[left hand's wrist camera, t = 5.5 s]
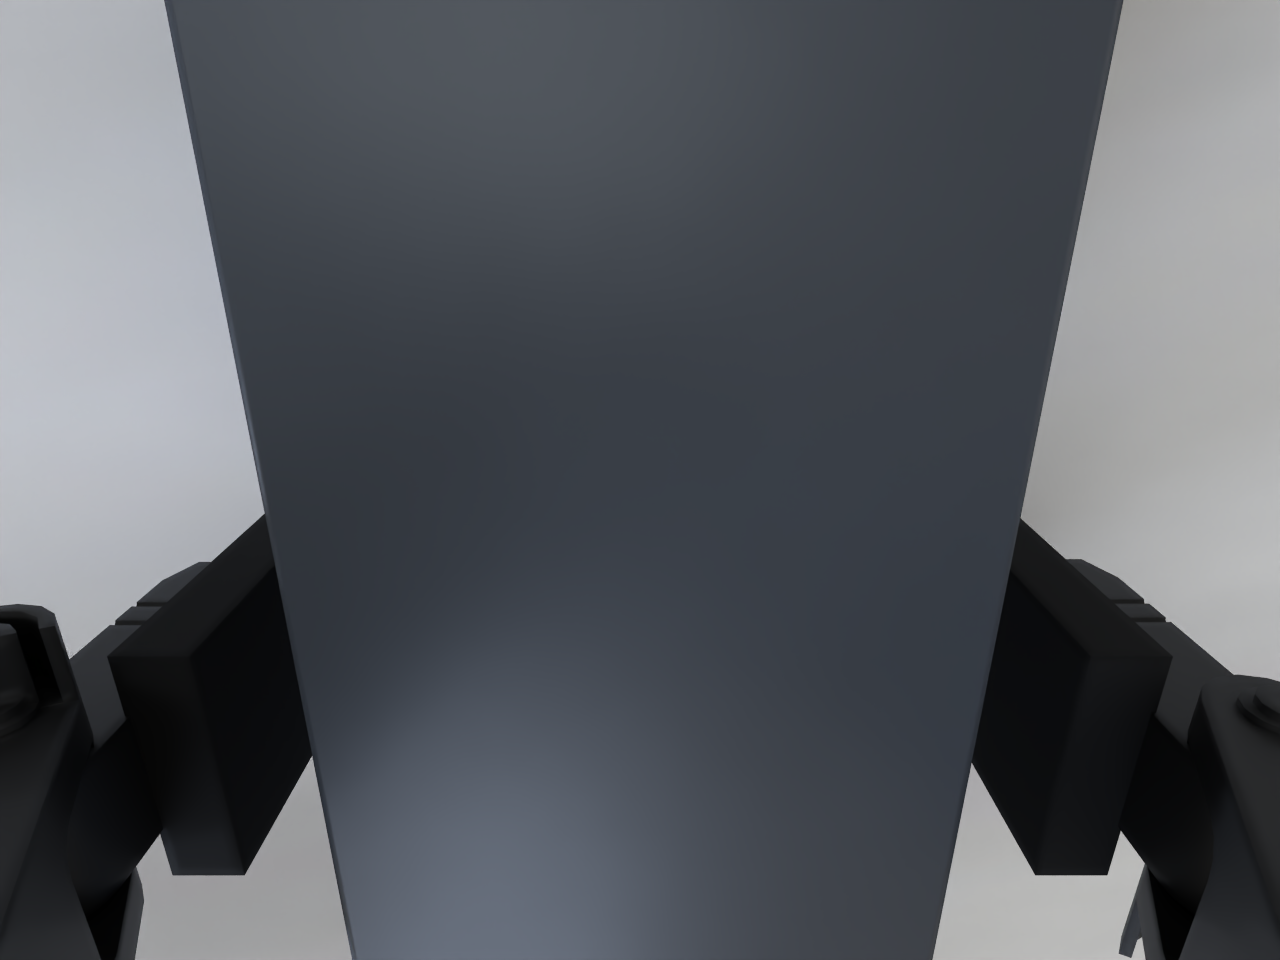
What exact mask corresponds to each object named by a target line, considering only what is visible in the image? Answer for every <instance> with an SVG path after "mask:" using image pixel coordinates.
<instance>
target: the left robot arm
mask: <svg viewBox="0 0 1280 960" xmlns="http://www.w3.org/2000/svg"><path fill="white" fill-rule="evenodd" d="M115 622H116V623H115V625H109V626H108V627H107V628H106V629H105V630H104V631H102V632H101V633H100V634H99V635H98V636H97V637H95V638H94V639H93V640H92V641H91V642H89V643H88V644H87V645H86V646H85V647H84V648H82V649H81V650H80V651H79V652H78V653H77V654H75V655H74V656H73V657H72V658H71V659H69V657H68V654H67V651H66V648H65V645H64V642H63V639H62V636H61V633H60V630H59V626H58V623H57V620H56V617H55V614H54V613H52V612H51V611H49V610H47V609H45V608H44V607H42V606H33V605H23V604H14V605H4V606H0V960H135V954H136V948H137V942H138V935H139V929H140V923H141V917H142V910H143V904H144V897H143V890H142V884H141V881H140V877H139V874H138V871H137V868H136V866H137V864H138V863H139V862H140V860H141V859H142V857H143V856H144V855H145V853H146V852H147V851H148V849H149V848H150V846H151V845H152V844H153V842H154V841H155V840H156V838H157V837H158V835H159V834H160V835H161V838H162V841H163V845H164V848H165V851H166V855H167V858H168V861H169V865H170V868H171V871H172V875H245V874H246V872H247V870H248V868H249V867H250V865H251V863H252V861H253V859H254V858H255V856H256V854H257V852H258V851H259V849H260V847H261V845H262V843H263V842H264V840H265V838H266V836H267V835H268V833H269V831H270V829H271V828H272V826H273V824H274V822H275V820H276V819H277V817H278V815H279V813H280V812H281V810H282V808H283V806H284V804H285V803H286V801H287V799H288V797H289V796H290V794H291V792H292V790H293V789H294V787H295V785H296V783H297V781H298V780H299V778H300V776H301V774H302V773H303V771H304V769H305V767H306V765H307V764H308V762H309V760H310V758H311V757H312V751H311V746H310V741H309V736H308V731H307V726H306V721H305V715H304V710H303V705H302V700H301V695H300V690H299V685H298V680H297V675H296V670H295V664H294V659H293V654H292V649H291V644H290V639H289V634H288V629H287V624H286V618H285V613H284V608H283V603H282V598H281V593H280V588H279V583H278V578H277V573H276V567H275V562H274V557H273V552H272V547H271V542H270V537H269V532H268V527H267V521H266V516H265V514H264V515H263V516H262V517H261V518H259V519H258V520H257V521H256V522H255V523H254V524H253V525H252V526H251V527H250V528H248V529H247V530H246V531H245V532H244V533H243V534H242V535H241V536H240V537H238V538H237V539H236V540H235V541H234V542H233V543H232V544H231V545H230V546H228V547H227V548H226V549H225V550H224V551H223V552H222V553H221V554H220V555H219V556H217V557H216V558H215V559H214V560H213V561H212V562H198V563H196V564H194V565H192V566H190V567H188V568H186V569H184V570H182V571H180V572H178V573H176V574H174V575H172V576H170V577H168V578H166V579H164V580H162V581H161V582H160V583H159V584H158V585H157V586H155V587H154V588H153V589H152V590H151V591H149V592H148V593H147V594H146V595H145V596H144V597H142V598H141V599H140V600H139V601H138V602H137V606H136V607H131V608H129V609H128V610H127V611H126V612H125V613H124V614H122V615H121V616H120V617H119V618H118V619H117V620H115ZM972 764H973V766H974V767H975V769H976V771H977V773H978V774H979V776H980V778H981V780H982V781H983V783H984V785H985V787H986V789H987V790H988V792H989V794H990V796H991V797H992V799H993V801H994V803H995V805H996V806H997V808H998V810H999V812H1000V813H1001V815H1002V817H1003V819H1004V820H1005V822H1006V824H1007V826H1008V828H1009V829H1010V831H1011V833H1012V835H1013V836H1014V838H1015V840H1016V842H1017V844H1018V845H1019V847H1020V849H1021V851H1022V852H1023V854H1024V856H1025V858H1026V859H1027V861H1028V863H1029V865H1030V867H1031V868H1032V870H1033V872H1034V874H1035V875H1107V874H1108V871H1109V868H1110V864H1111V861H1112V858H1113V855H1114V851H1115V848H1116V845H1117V841H1118V838H1119V835H1120V831H1122V833H1123V834H1124V835H1125V837H1126V838H1127V839H1128V841H1129V842H1130V844H1131V845H1132V846H1133V848H1134V849H1135V850H1136V852H1137V853H1138V854H1139V856H1140V857H1141V859H1142V860H1143V861H1144V863H1145V865H1144V868H1143V871H1142V874H1141V877H1140V881H1139V884H1138V887H1137V890H1136V893H1135V896H1134V899H1133V902H1132V905H1131V908H1130V912H1129V915H1128V918H1127V921H1126V924H1125V927H1124V930H1123V933H1122V936H1121V943H1120V949H1119V954H1122V955H1125V956H1128V957H1130V958H1131V957H1132V954H1133V951H1134V948H1135V945H1136V942H1137V940H1138V939H1139V938H1141V937H1142V939H1143V946H1144V952H1145V958H1146V960H1280V682H1279V681H1275V680H1272V679H1268V678H1261V677H1253V676H1245V675H1233V674H1232V673H1231V672H1230V671H1228V670H1227V669H1226V668H1225V667H1224V666H1222V665H1221V664H1220V663H1219V662H1218V661H1217V660H1215V659H1214V658H1213V657H1212V656H1211V655H1209V654H1208V653H1207V652H1206V651H1205V650H1203V649H1202V648H1201V647H1200V646H1199V645H1198V644H1196V643H1195V642H1194V641H1193V640H1192V639H1190V638H1189V637H1188V636H1187V635H1186V634H1184V633H1183V632H1182V631H1181V630H1180V629H1179V628H1177V627H1176V626H1175V625H1174V624H1173V623H1171V622H1166V620H1165V617H1164V616H1163V615H1162V614H1161V613H1160V612H1158V611H1157V610H1156V609H1155V608H1154V607H1152V606H1151V605H1150V604H1144V599H1143V598H1142V597H1141V596H1139V595H1138V594H1137V593H1136V592H1135V591H1133V590H1132V589H1131V588H1130V587H1129V586H1128V585H1126V584H1125V583H1124V582H1123V581H1122V580H1120V579H1119V578H1118V577H1116V576H1114V575H1112V574H1110V573H1108V572H1106V571H1104V570H1102V569H1100V568H1098V567H1096V566H1094V565H1092V564H1090V563H1088V562H1086V561H1084V560H1082V559H1065V558H1064V557H1063V556H1061V555H1060V554H1059V553H1058V552H1057V551H1056V550H1055V549H1054V548H1053V547H1051V546H1050V545H1049V544H1048V543H1047V542H1046V541H1045V540H1044V539H1043V538H1042V537H1040V536H1039V535H1038V534H1037V533H1036V532H1035V531H1034V530H1033V529H1032V528H1030V527H1029V526H1028V525H1027V524H1026V523H1025V522H1024V521H1023V520H1022V519H1021V518H1020V522H1019V527H1018V532H1017V537H1016V542H1015V547H1014V552H1013V557H1012V562H1011V567H1010V572H1009V577H1008V582H1007V587H1006V592H1005V597H1004V602H1003V607H1002V612H1001V617H1000V622H999V627H998V632H997V637H996V642H995V647H994V652H993V657H992V662H991V667H990V672H989V677H988V682H987V687H986V692H985V697H984V702H983V708H982V713H981V718H980V723H979V728H978V733H977V738H976V743H975V748H974V753H973V758H972Z"/></svg>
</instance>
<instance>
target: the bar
mask: <svg viewBox="0 0 1280 960" xmlns="http://www.w3.org/2000/svg"><path fill="white" fill-rule="evenodd" d="M164 1H165V6H166V11H167V16H168V21H169V26H170V31H171V37H172V42H173V47H174V52H175V57H176V62H177V67H178V72H179V77H180V82H181V88H182V93H183V98H184V103H185V108H186V113H187V118H188V123H189V128H190V134H191V139H192V144H193V149H194V154H195V159H196V164H197V169H198V174H199V179H200V185H201V190H202V195H203V200H204V205H205V210H206V215H207V220H208V225H209V231H210V236H211V241H212V246H213V251H214V256H215V261H216V266H217V271H218V276H219V282H220V287H221V292H222V297H223V302H224V307H225V312H226V317H227V322H228V328H229V333H230V338H231V343H232V348H233V353H234V358H235V363H236V368H237V373H238V379H239V384H240V389H241V394H242V399H243V404H244V409H245V414H246V419H247V424H248V430H249V435H250V440H251V445H252V450H253V455H254V460H255V465H256V470H257V476H258V481H259V486H260V491H261V496H262V501H263V506H264V511H265V516H266V521H267V527H268V532H269V537H270V542H271V547H272V552H273V557H274V562H275V567H276V573H277V578H278V583H279V588H280V593H281V598H282V603H283V608H284V613H285V618H286V624H287V629H288V634H289V639H290V644H291V649H292V654H293V659H294V664H295V670H296V675H297V680H298V685H299V690H300V695H301V700H302V705H303V710H304V715H305V721H306V726H307V731H308V736H309V741H310V746H311V751H312V756H313V761H314V767H315V772H316V777H317V782H318V787H319V792H320V797H321V802H322V807H323V812H324V818H325V823H326V828H327V833H328V838H329V843H330V848H331V853H332V858H333V864H334V869H335V874H336V879H337V884H338V889H339V894H340V899H341V904H342V909H343V915H344V920H345V925H346V930H347V935H348V940H349V945H350V950H351V955H352V960H932V959H933V954H934V949H935V944H936V939H937V934H938V929H939V924H940V919H941V914H942V908H943V903H944V898H945V893H946V888H947V883H948V878H949V873H950V868H951V863H952V858H953V853H954V848H955V843H956V838H957V833H958V828H959V823H960V818H961V813H962V808H963V803H964V798H965V793H966V788H967V783H968V778H969V773H970V768H971V763H972V758H973V753H974V748H975V743H976V738H977V733H978V728H979V723H980V718H981V713H982V708H983V702H984V697H985V692H986V687H987V682H988V677H989V672H990V667H991V662H992V657H993V652H994V647H995V642H996V637H997V632H998V627H999V622H1000V617H1001V612H1002V607H1003V602H1004V597H1005V592H1006V587H1007V582H1008V577H1009V572H1010V567H1011V562H1012V557H1013V552H1014V547H1015V542H1016V537H1017V532H1018V527H1019V522H1020V517H1021V512H1022V507H1023V502H1024V496H1025V491H1026V486H1027V481H1028V476H1029V471H1030V466H1031V461H1032V456H1033V451H1034V446H1035V441H1036V436H1037V431H1038V426H1039V421H1040V416H1041V411H1042V406H1043V401H1044V396H1045V391H1046V386H1047V381H1048V376H1049V371H1050V366H1051V361H1052V356H1053V351H1054V346H1055V341H1056V336H1057V331H1058V326H1059V321H1060V316H1061V311H1062V306H1063V301H1064V295H1065V290H1066V285H1067V280H1068V275H1069V270H1070V265H1071V260H1072V255H1073V250H1074V245H1075V240H1076V235H1077V230H1078V225H1079V220H1080V215H1081V210H1082V205H1083V200H1084V195H1085V190H1086V185H1087V180H1088V175H1089V170H1090V165H1091V160H1092V155H1093V150H1094V145H1095V140H1096V135H1097V130H1098V125H1099V120H1100V115H1101V110H1102V105H1103V100H1104V95H1105V89H1106V84H1107V79H1108V74H1109V69H1110V64H1111V59H1112V54H1113V49H1114V44H1115V39H1116V34H1117V29H1118V24H1119V19H1120V14H1121V9H1122V4H1123V0H164Z"/></svg>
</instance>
